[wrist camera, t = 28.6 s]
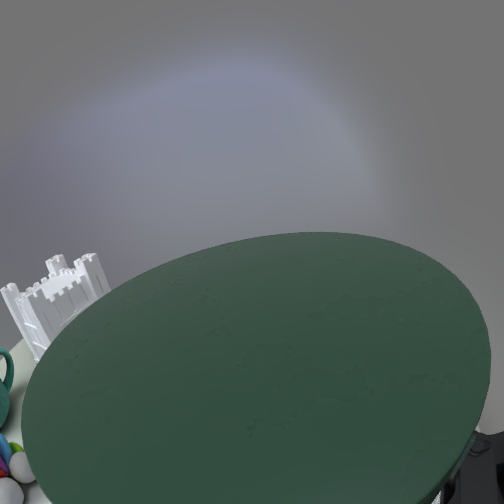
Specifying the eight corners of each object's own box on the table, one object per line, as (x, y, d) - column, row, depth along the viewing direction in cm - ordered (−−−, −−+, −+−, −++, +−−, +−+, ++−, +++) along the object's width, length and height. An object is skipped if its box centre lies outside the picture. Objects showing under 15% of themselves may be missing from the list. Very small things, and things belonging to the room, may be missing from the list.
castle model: (76, 387, 38) (26, 298, 32) (37, 364, 44) (-3, 290, 39) (133, 334, 49) (99, 252, 44) (87, 323, 56) (57, 253, 50)
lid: (551, 460, 3) (599, 390, 2) (27, 560, 2) (-42, 515, 2) (365, 258, 12) (360, 210, 11) (116, 317, 12) (98, 274, 11)
